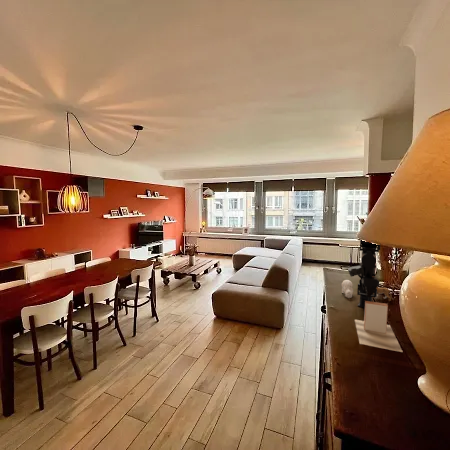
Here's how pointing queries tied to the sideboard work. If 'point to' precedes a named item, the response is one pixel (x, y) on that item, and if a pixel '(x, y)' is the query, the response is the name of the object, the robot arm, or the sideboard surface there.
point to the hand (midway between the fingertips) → (366, 293)
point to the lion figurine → (385, 291)
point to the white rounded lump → (347, 288)
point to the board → (377, 337)
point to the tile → (375, 316)
